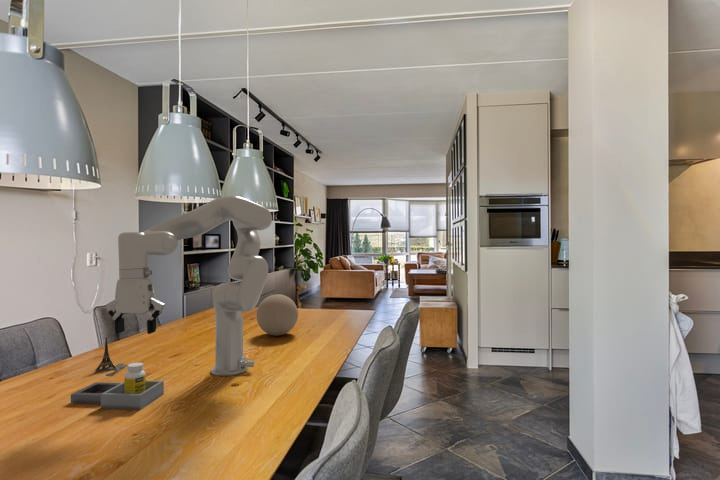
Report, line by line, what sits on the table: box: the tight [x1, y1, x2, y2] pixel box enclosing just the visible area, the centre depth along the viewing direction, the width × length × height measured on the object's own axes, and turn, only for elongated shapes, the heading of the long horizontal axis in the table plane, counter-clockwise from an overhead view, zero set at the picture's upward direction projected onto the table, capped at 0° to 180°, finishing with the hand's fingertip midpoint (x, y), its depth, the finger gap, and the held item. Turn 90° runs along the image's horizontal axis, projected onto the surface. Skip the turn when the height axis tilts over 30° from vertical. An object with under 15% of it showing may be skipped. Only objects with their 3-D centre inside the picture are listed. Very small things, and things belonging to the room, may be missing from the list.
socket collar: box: [70, 381, 122, 405], centre depth 122 cm, size 10×10×2 cm
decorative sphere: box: [256, 293, 299, 336], centre depth 201 cm, size 20×20×20 cm
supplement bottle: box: [123, 362, 147, 394], centre depth 119 cm, size 5×5×10 cm
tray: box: [100, 379, 165, 411], centre depth 119 cm, size 12×12×4 cm
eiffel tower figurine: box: [95, 336, 128, 377], centre depth 148 cm, size 15×10×13 cm
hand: (135, 332), depth 120 cm, fingers open, 9 cm apart
